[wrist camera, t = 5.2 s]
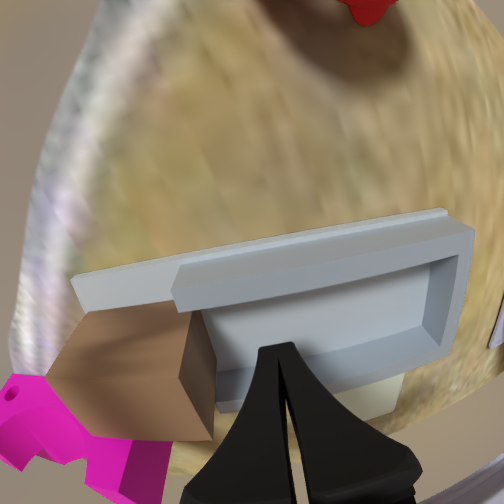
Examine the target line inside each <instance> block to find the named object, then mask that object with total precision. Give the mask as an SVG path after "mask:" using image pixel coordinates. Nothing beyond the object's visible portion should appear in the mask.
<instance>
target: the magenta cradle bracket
mask: <svg viewBox="0 0 504 504" xmlns="http://www.w3.org/2000/svg"><path fill="white" fill-rule="evenodd" d="M172 443H173V441H144V440H128V439H117V438H107V437H99V436H92V435H91V434H90V433H89V432H88V430H87V429H86V428H85V427H84V426H83V425H82V424H81V423H80V422H79V421H78V419H77V418H76V417H75V416H74V415H73V414H72V413H71V411H70V410H69V409H68V408H67V407H66V405H65V404H64V403H63V402H62V400H61V399H60V398H59V397H58V395H57V394H56V393H55V391H54V390H53V389H52V388H51V386H50V385H49V383H48V382H47V381H46V379H45V377H42V376H30V375H20V374H12V375H11V376H10V378H9V379H8V381H7V382H6V384H5V385H4V386H3V388H2V390H1V391H0V459H1V460H2V461H4V462H5V463H6V464H8V465H10V466H12V467H13V468H15V469H17V470H19V471H21V472H22V471H23V469H24V468H25V466H26V465H27V463H28V462H29V461H30V460H31V458H33V457H34V456H35V455H37V456H40V457H42V458H45V459H48V460H51V461H54V462H56V463H60V464H63V465H65V464H67V463H68V462H71V461H73V460H77V459H80V458H86V457H87V468H86V477H85V484H86V485H87V486H89V487H90V488H92V489H93V490H95V491H96V492H98V493H99V494H101V495H103V496H104V497H106V498H107V499H109V500H111V501H112V502H114V503H116V504H161V501H162V495H163V490H164V484H165V479H166V474H167V469H168V464H169V458H170V453H171V448H172Z"/></svg>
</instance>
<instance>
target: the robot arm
mask: <svg viewBox="0 0 504 504" xmlns="http://www.w3.org/2000/svg"><path fill="white" fill-rule="evenodd" d="M503 342H504V300H503V303H502V307H501V310H500V313H499V317H498V320H497V323H496V326H495V329H494V331H493V334H492V337H491V340H490V342H489V348H490V349H493V348H495V347H497V346H498V345H500V344H502V343H503ZM285 399H286V400H285ZM286 403H287V406H288V410H289V413H290V417H291V420H292V424H293V427H294V431H295V434H296V438H297V441H298V445H299V449H300V454H301V460H302V465H303V471H304V477H305V482H306V489H307V494H308V500H309V504H416V501H415V498H414V495H415V489H414V487H413V484H414V483H415V482H416V481H417V480H418V478H419V477H420V476H421V474H422V472H423V471H422V468H421V465H420V463H419V461H418V459H417V458H416V456H415V455H414V453H413V452H412V451H411V450H410V449H409V447H407V446H405V445H403V444H401V443H399V442H397V441H395V440H393V439H391V438H389V437H387V436H386V435H384V434H382V433H381V432H379V431H377V430H376V429H374V428H373V427H371V426H370V425H368V424H367V423H365V422H364V421H363V420H361V419H360V418H358V417H357V416H356V415H354V414H353V413H352V412H351V411H349V410H348V409H347V408H346V407H345V406H344V405H342V404H341V403H340V402H339V401H338V400H337V399H336V398H335V397H334V396H333V395H332V394H331V393H330V392H329V391H328V390H327V389H326V388H325V387H324V386H323V384H322V383H321V382H320V381H319V380H318V379H317V377H316V376H315V375H314V374H313V372H312V371H311V370H310V368H309V367H308V366H307V364H306V363H305V361H304V360H303V358H302V357H301V355H300V354H299V352H298V350H297V348H296V346H295V344H294V342H292V341H289V342H284V343H279V344H273V345H268V346H262V347H260V348H259V349H258V356H257V362H256V366H255V370H254V374H253V377H252V381H251V384H250V387H249V390H248V393H247V395H246V398H245V400H244V403H243V405H242V407H241V409H240V412H239V414H238V416H237V418H236V420H235V422H234V423H233V425H232V427H231V429H230V430H229V432H228V434H227V435H226V437H225V439H224V440H223V442H222V443H221V445H220V446H219V448H218V449H217V450H216V452H215V453H214V454H213V456H212V457H211V458H210V459H209V461H208V462H207V463H206V464H205V466H204V467H203V468H202V469H201V470H200V471H199V472H198V473H197V474H196V475H195V477H194V478H193V479H192V480H191V481H190V482H189V483H188V484H187V485H186V486H185V487H184V490H183V493H182V496H181V500H180V504H297V501H296V494H295V488H294V481H293V476H292V469H291V463H290V456H289V448H288V433H287V415H286ZM417 504H504V452H503V453H502V454H501V455H499V456H498V457H497V458H495V459H494V460H492V461H491V462H489V463H488V464H487V465H485V466H484V467H482V468H481V469H479V470H478V471H476V472H475V473H473V474H471V475H470V476H468V477H466V478H465V479H463V480H462V481H460V482H458V483H456V484H455V485H453V486H451V487H449V488H447V489H445V490H444V491H442V492H440V493H438V494H436V495H434V496H432V497H430V498H428V499H426V500H424V501H422V502H419V503H417Z"/></svg>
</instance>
